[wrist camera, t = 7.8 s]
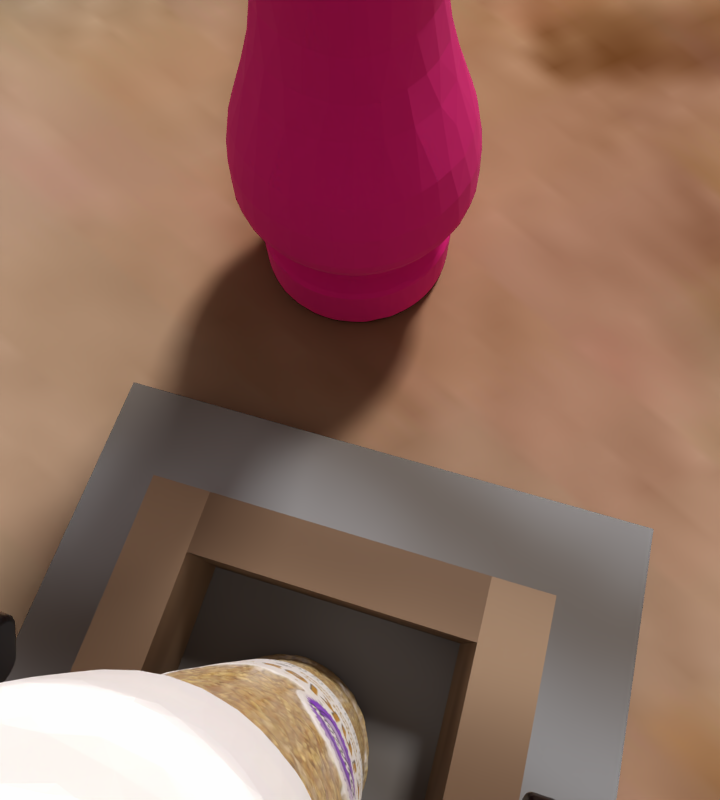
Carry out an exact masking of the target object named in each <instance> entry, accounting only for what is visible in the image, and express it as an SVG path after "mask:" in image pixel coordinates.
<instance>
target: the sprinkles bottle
mask: <svg viewBox="0 0 720 800" xmlns="http://www.w3.org/2000/svg"><path fill="white" fill-rule="evenodd" d="M368 756H369V746H368V738H367V732H366V726H365V720H364V717H363V714H362V712H361V710H360V708H359V706H358V704H357V702H356V699H355V697H354V695H353V693H352V692H351V691H350V690H349V689H348V687H347V686H346V685H345V684H344V683H343V681H342V680H341V679H340V678H338V677H337V676H336V675H335V674H334V673H333V672H332V671H330V670H329V669H327V668H326V667H324V666H323V665H321V664H319V663H317V662H315V661H313V660H311V659H309V658H306V657H303V656H298V655H286V654H275V655H269V656H263V657H260V658H256V659H250V660H242V661H235V662H227V663H219V664H213V665H207V666H202V667H196V668H189V669H183V670H177V671H171V672H166V673H163V674H155V673H150V672H144V671H139V670H107V669H102V670H90V671H80V672H70V673H61V674H53V675H44V676H36V677H29V678H23V679H18V680H12V681H7V682H1V683H0V800H361V797H362V791H363V789H364V785H365V782H366V778H367V772H368Z"/></svg>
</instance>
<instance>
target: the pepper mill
mask: <svg viewBox="0 0 720 800" xmlns="http://www.w3.org/2000/svg"><path fill="white" fill-rule="evenodd" d="M226 145H227V157H228V164H229V169H230V174H231V179H232V183H233V188H234V192H235V196H236V200H237V202H238V204H239V206H240V208H241V211H242V213H243V214H244V216H245V217H246V219H247V220H248V222H249V223H250V225H251V227H252V228H253V230H254V231H255V232H256V233H257V234H258V235H259V236H260V237H261V238H262V239H263V240H264V241H265V243H266V248H267V252H268V256H269V260H270V263H271V266H272V269H273V272H274V274H275V276H276V278H277V280H278V281H279V283H280V284H281V286H282V287H283V288H284V290H285V291H286V292H287V293H288V294H289V295H290V296H291V297H292V298H293V299H294V300H296V301H297V302H298V303H299V304H301V305H302V306H304V307H306V308H307V309H309V310H311V311H312V312H314V313H316V314H319V315H322V316H324V317H327V318H331V319H335V320H342V321H351V322H367V321H372V320H376V319H381V318H386V317H390V316H392V315H395V314H397V313H399V312H401V311H403V310H405V309H407V308H409V307H411V306H412V305H414V304H415V303H416V302H418V301H419V300H420V299H421V298H422V297H424V296H425V295H426V294H427V293H428V291H429V290H430V289H431V288H432V287H433V285H434V284H435V282H436V281H437V279H438V278H439V276H440V274H441V271H442V269H443V266H444V263H445V260H446V256H447V250H448V245H449V239H450V234H451V233H452V232H453V231H454V230H455V229H456V228H457V226H458V225H459V224H460V222H461V220H462V219H463V217H464V215H465V213H466V212H467V210H468V208H469V206H470V204H471V202H472V199H473V197H474V194H475V192H476V187H477V182H478V176H479V171H480V161H481V151H482V128H481V121H480V114H479V107H478V101H477V95H476V91H475V88H474V85H473V82H472V79H471V76H470V73H469V71H468V68H467V65H466V62H465V59H464V56H463V53H462V51H461V48H460V45H459V41H458V37H457V33H456V29H455V25H454V22H453V18H452V10H451V3H450V0H248V16H247V30H246V35H245V40H244V45H243V50H242V55H241V59H240V63H239V67H238V70H237V74H236V78H235V82H234V86H233V89H232V93H231V98H230V102H229V107H228V118H227V134H226Z"/></svg>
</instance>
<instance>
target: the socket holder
mask: <svg viewBox="0 0 720 800" xmlns="http://www.w3.org/2000/svg"><path fill="white" fill-rule="evenodd" d="M652 535H653V529H651V528H648V527H644V526H641V525H637V524H634V523H630V522H627V521H623V520H620V519H616V518H612V517H609V516H605V515H602V514H598V513H595V512H591V511H588V510H584V509H581V508H577V507H574V506H570V505H566V504H563V503H559V502H556V501H552V500H549V499H545V498H542V497H538V496H535V495H531V494H527V493H524V492H520V491H517V490H513V489H510V488H506V487H503V486H499V485H496V484H492V483H488V482H485V481H481V480H478V479H474V478H471V477H467V476H464V475H460V474H457V473H453V472H450V471H446V470H442V469H439V468H435V467H432V466H428V465H425V464H421V463H418V462H414V461H411V460H407V459H403V458H400V457H396V456H393V455H389V454H386V453H382V452H379V451H375V450H372V449H368V448H364V447H361V446H357V445H354V444H350V443H347V442H343V441H340V440H336V439H333V438H329V437H326V436H322V435H318V434H315V433H311V432H308V431H304V430H301V429H297V428H294V427H290V426H287V425H283V424H279V423H276V422H272V421H269V420H265V419H262V418H258V417H255V416H251V415H248V414H244V413H240V412H237V411H233V410H230V409H226V408H223V407H219V406H216V405H212V404H209V403H205V402H202V401H198V400H194V399H191V398H187V397H184V396H180V395H177V394H173V393H170V392H166V391H163V390H159V389H155V388H152V387H148V386H145V385H141V384H138V383H133V385H132V387H131V390H130V392H129V394H128V396H127V398H126V401H125V403H124V405H123V407H122V409H121V411H120V414H119V416H118V418H117V420H116V422H115V425H114V427H113V429H112V431H111V433H110V435H109V438H108V440H107V442H106V444H105V446H104V449H103V451H102V453H101V455H100V457H99V459H98V462H97V464H96V466H95V468H94V470H93V473H92V475H91V477H90V479H89V481H88V483H87V486H86V488H85V490H84V492H83V494H82V496H81V499H80V501H79V503H78V505H77V507H76V510H75V512H74V514H73V516H72V518H71V520H70V523H69V525H68V527H67V529H66V531H65V534H64V536H63V538H62V540H61V542H60V544H59V547H58V549H57V551H56V553H55V555H54V558H53V560H52V562H51V564H50V566H49V568H48V571H47V573H46V575H45V577H44V579H43V582H42V584H41V586H40V588H39V590H38V592H37V595H36V597H35V599H34V601H33V603H32V606H31V608H30V610H29V612H28V614H27V616H26V619H25V621H24V623H23V625H22V627H21V630H20V632H19V634H18V636H17V638H16V660H15V664H14V667H13V669H12V671H11V673H10V674H9V676H8V677H7V679H6V680H5V682H7V681H12V680H18V679H23V678H29V677H36V676H44V675H53V674H61V673H70V672H80V671H90V670H102V669H107V670H139V671H144V672H150V673H155V674H163V673H166V672H171V671H177V670H183V669H189V668H196V667H202V666H207V665H213V664H219V663H227V662H235V661H242V660H250V659H256V658H260V657H263V656H269V655H275V654H286V655H298V656H303V657H306V658H309V659H311V660H313V661H315V662H317V663H319V664H321V665H323V666H324V667H326V668H327V669H329V670H330V671H332V672H333V673H334V674H335V675H336V676H337V677H338V678H340V679H341V680H342V681H343V683H344V684H345V685H346V686H347V687H348V689H349V690H350V691H351V692H352V693H353V695H354V697H355V699H356V702H357V704H358V706H359V708H360V710H361V712H362V714H363V717H364V720H365V726H366V732H367V738H368V746H369V756H368V772H367V778H366V782H365V785H364V789H363V791H362V797H361V800H522V799H523V797H524V795H525V794H526V793H527V792H535V793H538V794H541V795H544V796H547V797H550V798H553V799H555V800H616V798H617V791H618V783H619V776H620V769H621V762H622V754H623V747H624V740H625V732H626V725H627V718H628V711H629V703H630V696H631V689H632V681H633V674H634V667H635V659H636V652H637V645H638V638H639V630H640V623H641V616H642V608H643V601H644V594H645V586H646V579H647V572H648V565H649V557H650V550H651V543H652Z"/></svg>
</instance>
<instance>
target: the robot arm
mask: <svg viewBox="0 0 720 800" xmlns="http://www.w3.org/2000/svg"><path fill="white" fill-rule="evenodd" d="M15 660H16V634H15V621H14V619H13V617H12V616H10V615H8V614H5V613H2V612H0V683H1V682H5V680H6V679H7V677H8V676H9V674H10V673H11V671H12V669H13V667H14V664H15ZM522 800H555V799H553V798H550V797H547V796H544V795H541V794H538V793H535V792H527V793H526V794H525V795H524V797H523V799H522Z"/></svg>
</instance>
